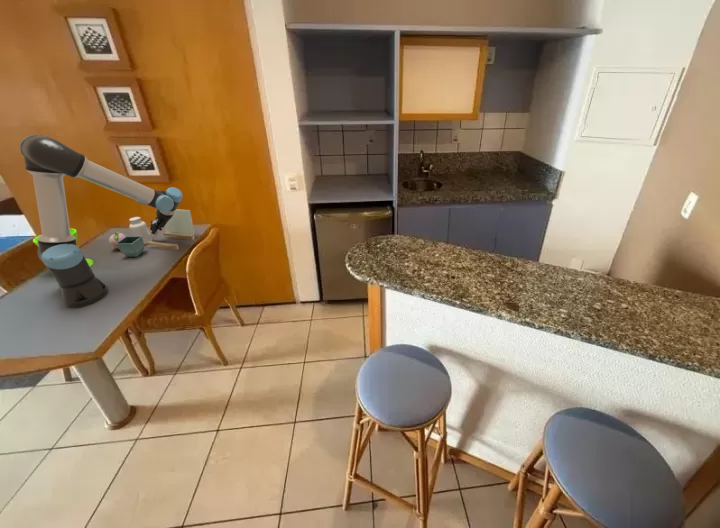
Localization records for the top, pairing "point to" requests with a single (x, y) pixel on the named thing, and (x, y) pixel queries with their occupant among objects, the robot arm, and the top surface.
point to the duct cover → (180, 222)
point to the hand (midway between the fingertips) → (153, 235)
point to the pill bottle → (140, 229)
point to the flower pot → (131, 246)
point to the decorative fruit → (116, 238)
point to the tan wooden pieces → (167, 245)
